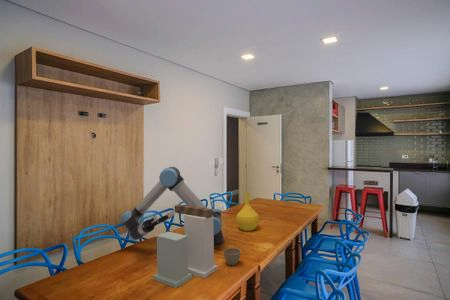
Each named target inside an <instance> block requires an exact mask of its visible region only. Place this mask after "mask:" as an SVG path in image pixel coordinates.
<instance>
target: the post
mask: <svg viewBox="0 0 450 300" xmlns="http://www.w3.org/2000/svg"><path fill="white" fill-rule="evenodd" d="M156 263H157V264H156V266H157V267H156V273H155V274H153V275H152V280H154V281H156V282H159V283H162V284H163V285H166V286H170V287H172V288H175V289H177V288H179V287H181V286H182V285H184V284H185V283H186V282H188V281H189V280H191V279H193V274H191V273H188V236H186V235H184V234H181V233H176V232H171V231H166V232H162V233H161V234H157V235H156Z"/></svg>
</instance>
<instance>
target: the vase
mask: <svg viewBox="0 0 450 300" xmlns="http://www.w3.org/2000/svg"><path fill="white" fill-rule="evenodd" d="M235 218H236V219H235V220H236V223H237V225H238V227H239V228H240V229H241V231H243V232H244V231H245V232H251V231H254V230H255V229H256V228H257V226H258V224H259V220H260V216H259V214H258V213H257V211H256V210H254V209H253V207H252V206H251V204H250V193H249V192H245V203H244V206H243V207H242V208H241V209H240V211H239V212H238V213H237V214H236V217H235Z"/></svg>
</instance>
